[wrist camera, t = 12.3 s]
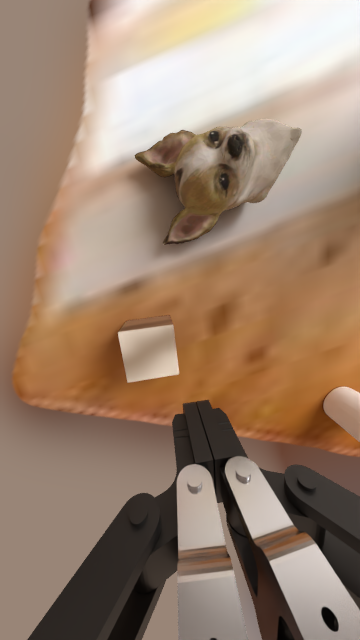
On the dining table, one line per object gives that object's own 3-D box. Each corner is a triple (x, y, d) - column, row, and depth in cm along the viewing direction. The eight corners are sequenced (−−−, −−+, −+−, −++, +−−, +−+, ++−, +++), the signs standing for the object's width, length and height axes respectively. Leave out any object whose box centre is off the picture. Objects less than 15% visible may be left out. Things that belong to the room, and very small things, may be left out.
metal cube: (173, 325, 20) (169, 314, 26) (117, 332, 20) (126, 320, 26) (179, 374, 22) (174, 354, 27) (127, 382, 21) (133, 360, 27)
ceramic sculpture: (324, 185, 16) (164, 240, 17) (271, 217, 25) (165, 253, 25) (306, 31, 14) (118, 97, 14) (254, 124, 22) (137, 165, 23)
